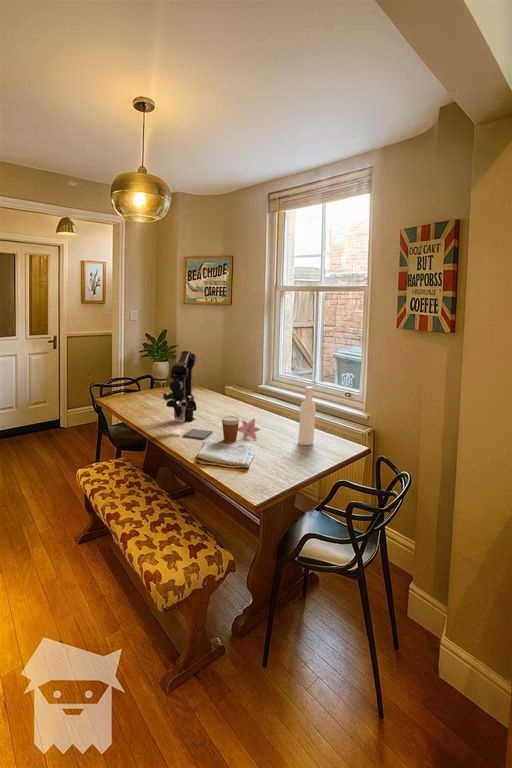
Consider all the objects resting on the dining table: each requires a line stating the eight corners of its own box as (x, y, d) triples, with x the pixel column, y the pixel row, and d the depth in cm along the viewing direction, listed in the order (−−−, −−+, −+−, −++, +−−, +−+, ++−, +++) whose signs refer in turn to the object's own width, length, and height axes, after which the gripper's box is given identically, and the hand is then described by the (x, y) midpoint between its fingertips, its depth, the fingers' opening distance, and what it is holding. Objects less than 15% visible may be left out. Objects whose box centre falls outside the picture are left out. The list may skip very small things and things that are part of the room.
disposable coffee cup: (217, 439, 221) (217, 417, 219) (232, 436, 227) (233, 415, 225) (227, 444, 214) (228, 422, 211) (242, 441, 219) (243, 419, 217)
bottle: (303, 439, 226) (307, 384, 220) (316, 443, 221) (320, 387, 215) (295, 443, 220) (298, 387, 214) (307, 447, 215) (311, 389, 209)
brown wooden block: (176, 419, 231) (176, 405, 229) (184, 420, 230) (185, 406, 228) (174, 421, 228) (174, 406, 226) (182, 422, 227) (182, 407, 225)
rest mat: (192, 430, 235) (192, 428, 234) (212, 433, 231) (212, 431, 231) (183, 436, 223) (183, 435, 223) (204, 439, 220) (204, 437, 220)
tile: (176, 429, 233) (169, 433, 226) (186, 430, 231) (179, 434, 224) (176, 431, 233) (169, 435, 226) (186, 433, 232) (179, 437, 224)
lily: (232, 439, 226) (235, 427, 219) (241, 426, 234) (244, 413, 228) (252, 448, 223) (255, 436, 217) (261, 435, 232) (264, 422, 226)
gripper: (174, 383, 236) (174, 410, 239) (157, 390, 219) (157, 419, 222) (192, 385, 233) (192, 412, 236) (176, 392, 216) (176, 421, 219)
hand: (179, 416), depth 228 cm, fingers closed on brown wooden block, 3 cm apart
